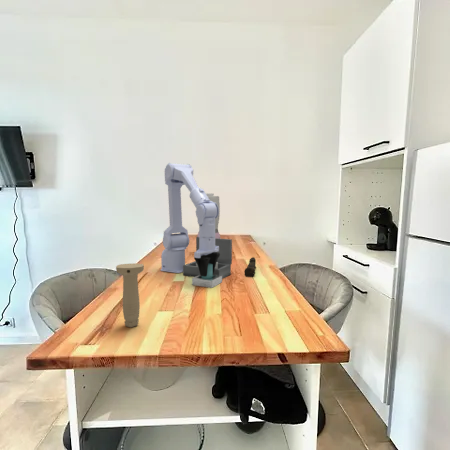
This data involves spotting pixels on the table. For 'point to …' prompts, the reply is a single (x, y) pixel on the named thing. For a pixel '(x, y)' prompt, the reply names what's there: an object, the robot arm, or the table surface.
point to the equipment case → (222, 263)
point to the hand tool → (250, 268)
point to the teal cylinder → (209, 272)
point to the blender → (216, 200)
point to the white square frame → (207, 281)
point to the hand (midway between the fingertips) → (207, 274)
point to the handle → (130, 292)
